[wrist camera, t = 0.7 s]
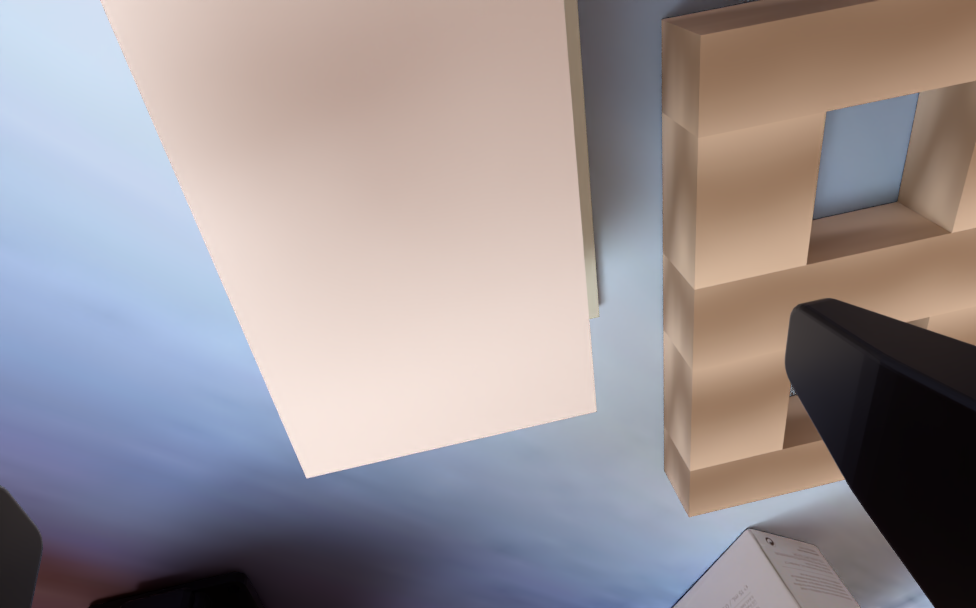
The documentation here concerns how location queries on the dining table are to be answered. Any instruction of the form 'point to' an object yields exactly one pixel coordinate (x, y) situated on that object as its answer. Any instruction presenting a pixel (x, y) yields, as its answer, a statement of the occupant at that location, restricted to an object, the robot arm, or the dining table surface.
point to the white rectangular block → (382, 208)
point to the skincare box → (769, 577)
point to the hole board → (798, 218)
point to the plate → (581, 151)
